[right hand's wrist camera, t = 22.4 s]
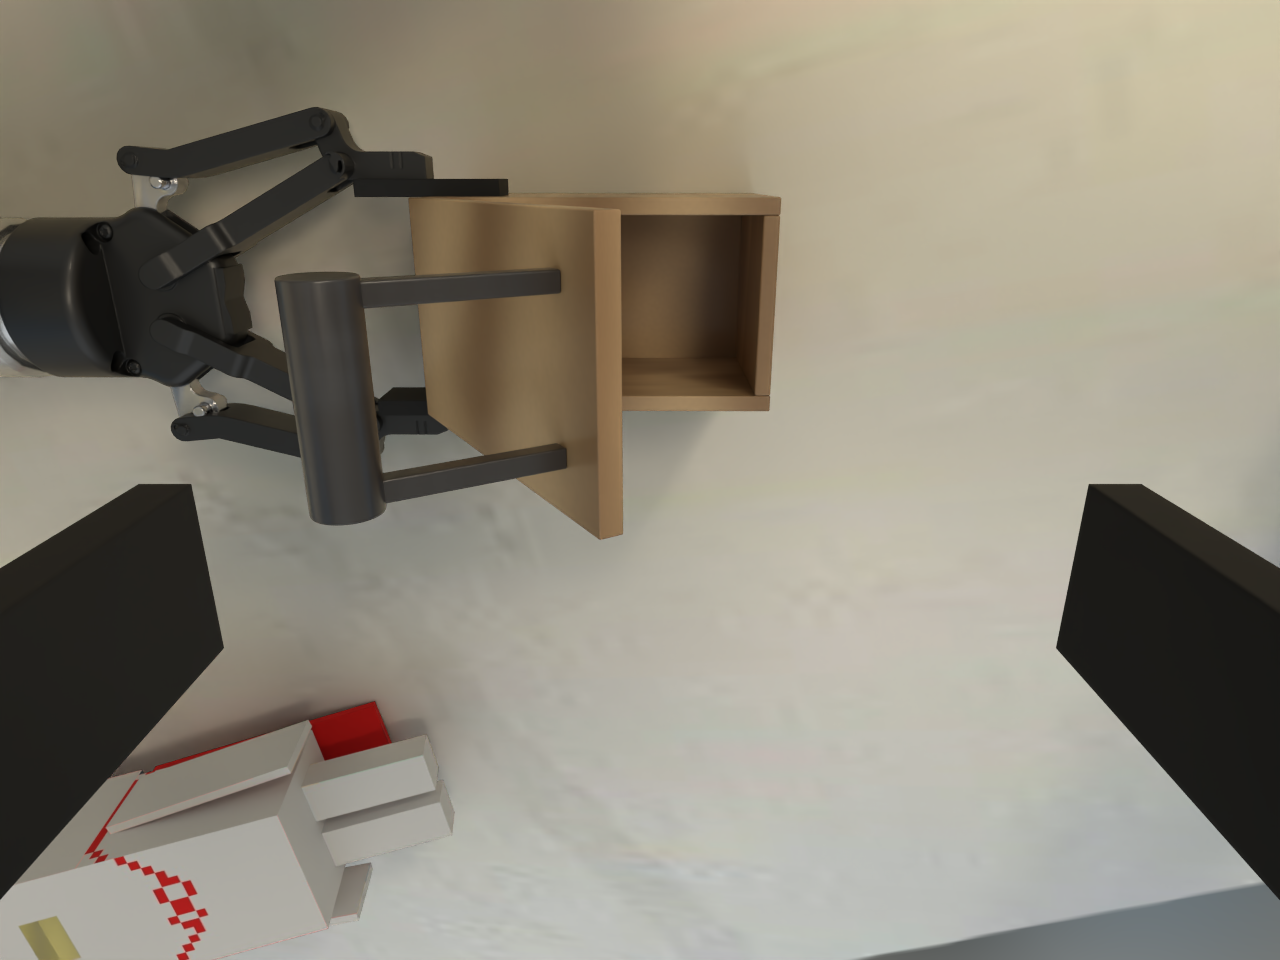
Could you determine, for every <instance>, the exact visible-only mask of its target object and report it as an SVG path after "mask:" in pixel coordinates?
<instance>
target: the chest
mask: <svg viewBox="0 0 1280 960" xmlns="http://www.w3.org/2000/svg"><path fill="white" fill-rule="evenodd" d="M430 198H446V199H462V200H478V201H494V202H511V203H527V204H543V205H559V206H575V207H592V208H608V209H619V210H620V211H621V330H622V411H769V406H770V396H769V395H770V386H771V368H772V351H773V333H774V315H775V298H776V280H777V262H778V244H779V227H780V216H779V215H780V210H781V198H780V197H774V196H767V195H760V194H754V193H509V195H506V196H430Z"/></svg>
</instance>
